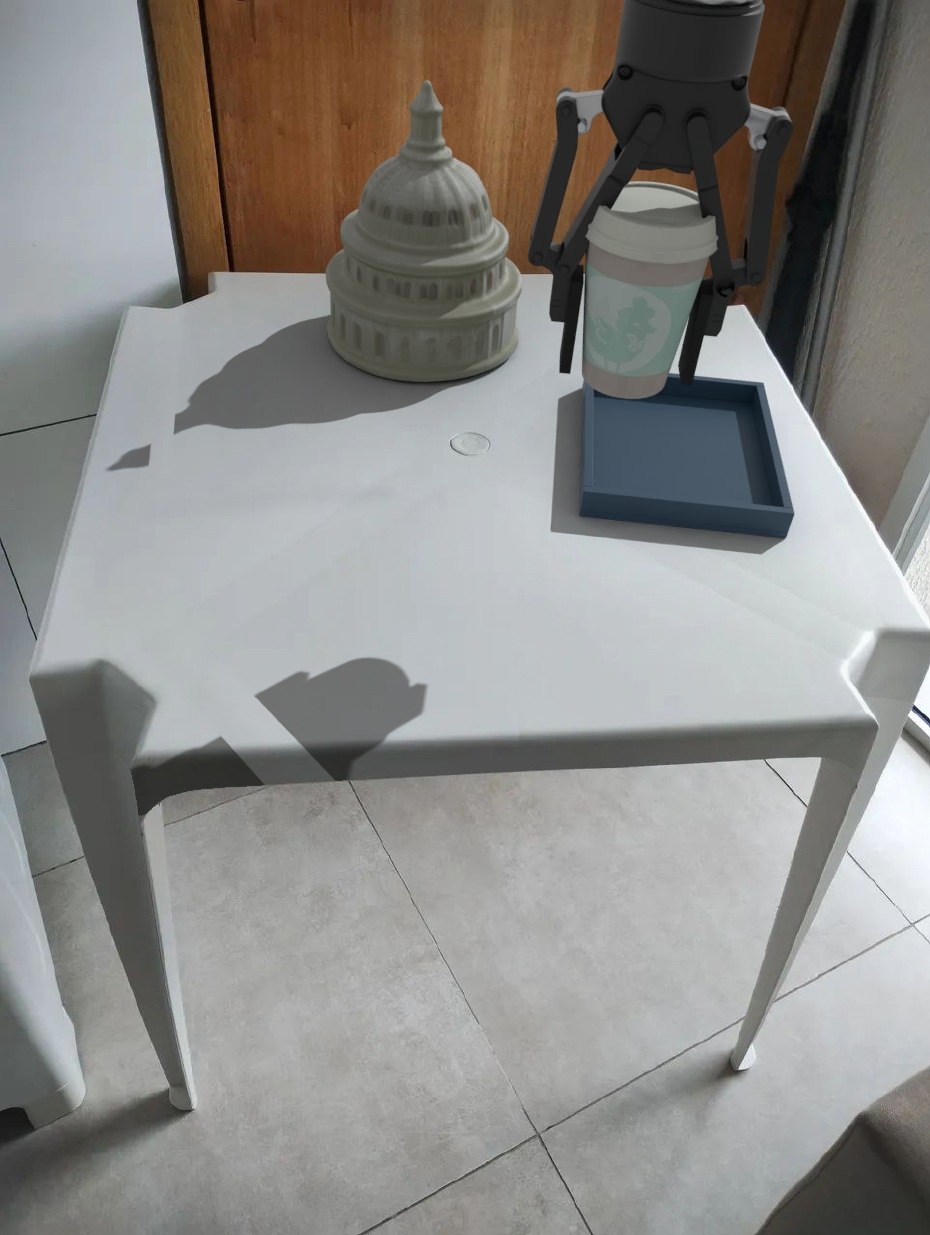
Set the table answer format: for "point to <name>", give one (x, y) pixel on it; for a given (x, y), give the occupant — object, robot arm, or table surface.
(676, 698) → the table surface
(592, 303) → the coffee cup
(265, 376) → the table surface
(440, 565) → the table surface
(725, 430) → the tray
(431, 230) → the dome
